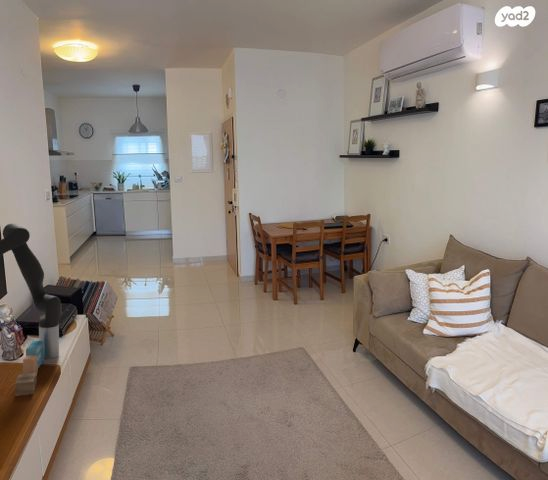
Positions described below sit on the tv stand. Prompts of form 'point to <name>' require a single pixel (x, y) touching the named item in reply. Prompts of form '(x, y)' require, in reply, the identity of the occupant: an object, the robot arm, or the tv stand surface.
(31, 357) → the terracotta block
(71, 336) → the tv stand surface
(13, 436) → the tv stand surface
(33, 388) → the grey brown block
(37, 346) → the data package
